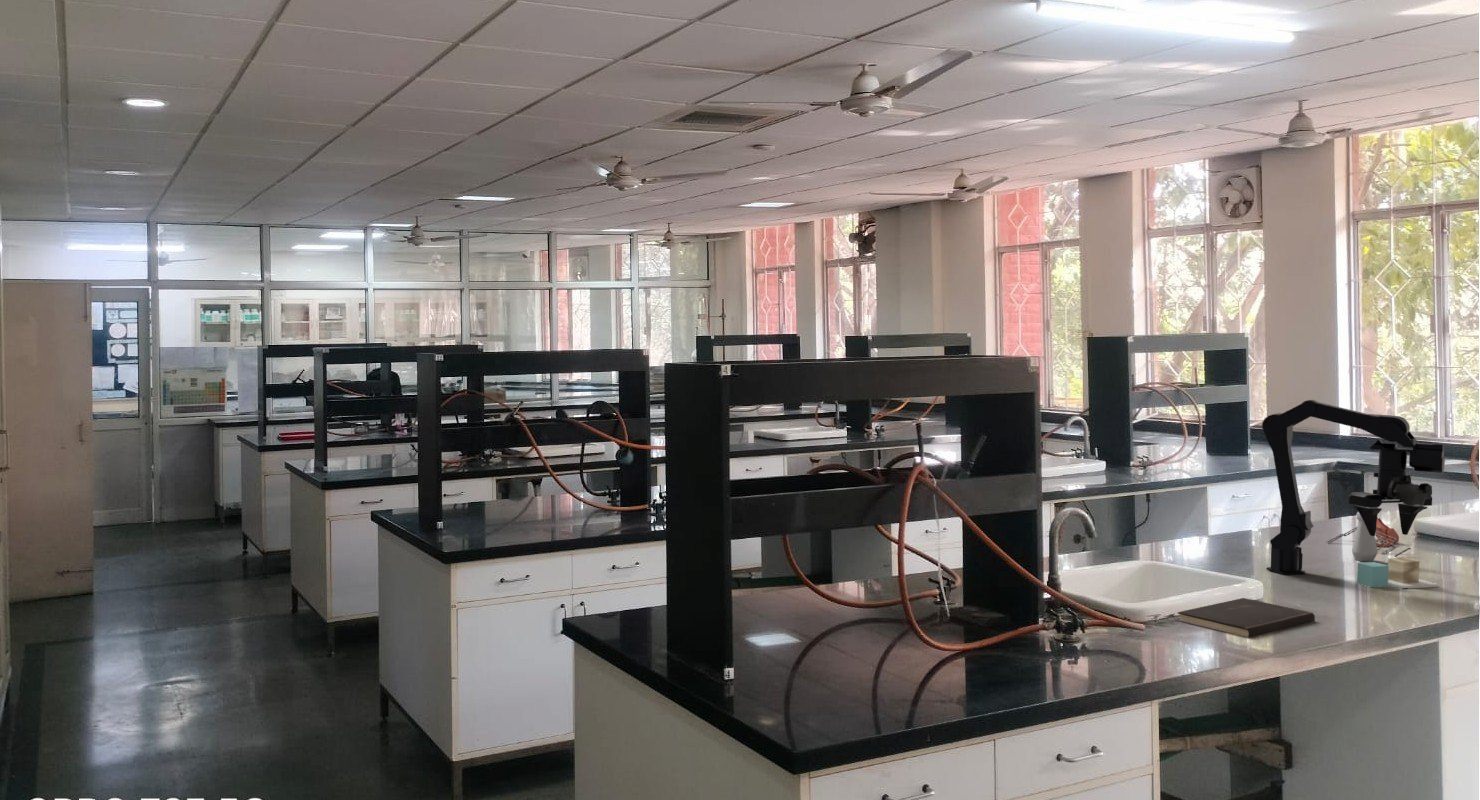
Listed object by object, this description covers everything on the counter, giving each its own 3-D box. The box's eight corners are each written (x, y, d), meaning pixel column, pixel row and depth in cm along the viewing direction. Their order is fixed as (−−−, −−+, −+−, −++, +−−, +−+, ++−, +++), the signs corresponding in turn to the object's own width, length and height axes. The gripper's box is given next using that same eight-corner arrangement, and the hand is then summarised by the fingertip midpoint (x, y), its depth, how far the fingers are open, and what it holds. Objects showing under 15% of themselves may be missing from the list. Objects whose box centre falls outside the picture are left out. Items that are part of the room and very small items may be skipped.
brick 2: (1402, 583, 262) (1403, 562, 262) (1387, 579, 267) (1388, 558, 266) (1418, 582, 263) (1419, 561, 263) (1403, 578, 268) (1404, 557, 267)
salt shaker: (1375, 563, 288) (1376, 513, 287) (1350, 560, 291) (1351, 511, 290) (1378, 560, 292) (1380, 510, 292) (1353, 557, 296) (1355, 508, 295)
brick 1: (1371, 587, 260) (1372, 566, 260) (1357, 583, 265) (1357, 562, 265) (1388, 586, 261) (1388, 565, 261) (1373, 582, 266) (1373, 562, 266)
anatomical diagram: (1368, 513, 323) (1440, 524, 299) (1378, 541, 324) (1451, 553, 300) (1312, 543, 319) (1380, 557, 295) (1322, 571, 320) (1391, 587, 296)
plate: (1401, 588, 259) (1401, 586, 259) (1368, 579, 269) (1369, 577, 269) (1438, 586, 261) (1438, 584, 261) (1404, 577, 271) (1404, 575, 271)
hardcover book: (1177, 623, 230) (1177, 612, 230) (1243, 608, 243) (1243, 597, 243) (1249, 640, 217) (1249, 629, 217) (1314, 624, 230) (1315, 613, 229)
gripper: (1386, 474, 253) (1382, 543, 254) (1453, 473, 257) (1450, 540, 258) (1348, 468, 263) (1345, 534, 264) (1414, 467, 268) (1410, 531, 269)
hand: (1388, 535), depth 264 cm, fingers open, 9 cm apart
